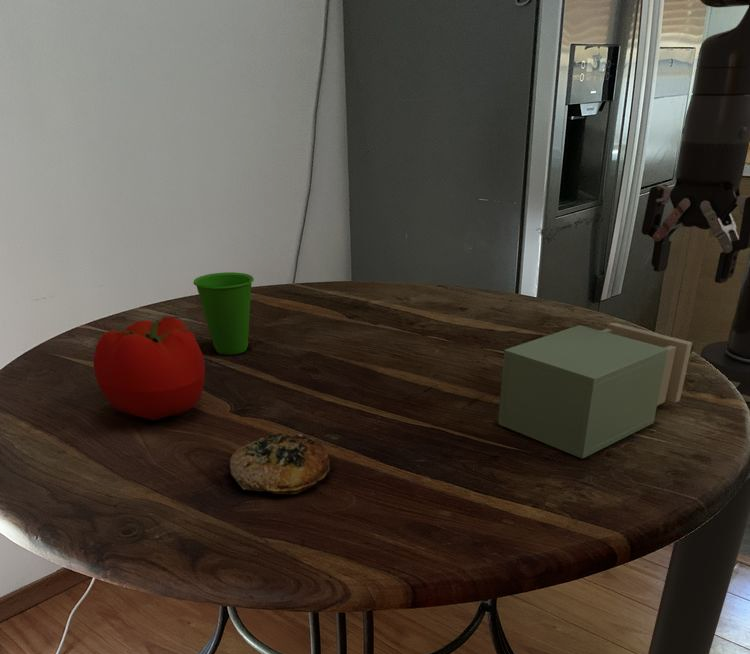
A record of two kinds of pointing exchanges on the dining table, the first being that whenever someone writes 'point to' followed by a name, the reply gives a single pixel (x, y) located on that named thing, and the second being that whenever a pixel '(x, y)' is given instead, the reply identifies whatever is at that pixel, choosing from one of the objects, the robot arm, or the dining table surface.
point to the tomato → (150, 368)
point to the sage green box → (580, 388)
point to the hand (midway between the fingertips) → (689, 276)
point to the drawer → (674, 360)
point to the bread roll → (280, 464)
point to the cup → (226, 309)
